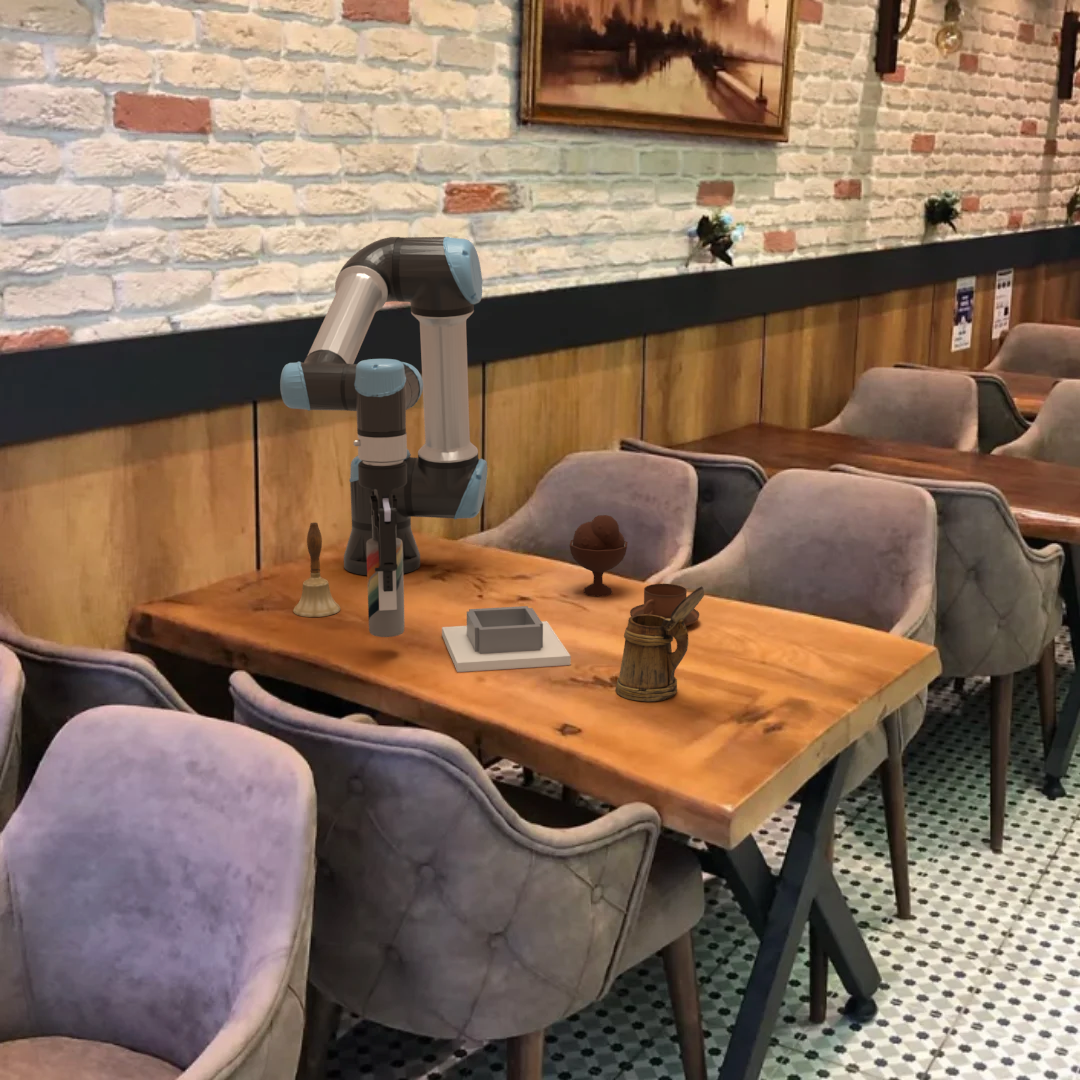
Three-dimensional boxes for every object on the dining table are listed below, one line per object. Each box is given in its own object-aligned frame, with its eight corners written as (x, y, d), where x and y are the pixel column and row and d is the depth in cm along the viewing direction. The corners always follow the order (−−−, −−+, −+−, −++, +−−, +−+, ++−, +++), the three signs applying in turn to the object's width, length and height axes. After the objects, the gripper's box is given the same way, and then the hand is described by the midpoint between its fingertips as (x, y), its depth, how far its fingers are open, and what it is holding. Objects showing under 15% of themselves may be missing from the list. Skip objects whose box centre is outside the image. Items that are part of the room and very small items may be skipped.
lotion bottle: (371, 625, 214) (368, 506, 209) (406, 626, 214) (404, 506, 208) (366, 637, 208) (362, 515, 203) (402, 638, 208) (399, 515, 203)
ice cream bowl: (627, 584, 251) (629, 508, 248) (625, 601, 241) (626, 522, 237) (571, 582, 252) (572, 506, 249) (567, 599, 242) (568, 520, 238)
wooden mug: (681, 714, 188) (686, 593, 184) (604, 693, 196) (606, 576, 192) (713, 696, 195) (718, 580, 190) (637, 676, 203) (640, 564, 198)
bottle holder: (441, 635, 221) (441, 604, 220) (546, 629, 225) (547, 598, 223) (457, 672, 204) (457, 638, 203) (570, 664, 208) (570, 631, 206)
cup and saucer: (689, 637, 222) (690, 602, 220) (621, 629, 226) (622, 595, 224) (706, 617, 233) (707, 584, 231) (640, 609, 237) (641, 577, 235)
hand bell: (286, 607, 236) (283, 521, 232) (330, 601, 240) (327, 516, 236) (302, 620, 229) (299, 531, 225) (347, 613, 233) (344, 525, 229)
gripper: (353, 449, 212) (358, 587, 218) (362, 474, 194) (367, 623, 200) (400, 448, 213) (403, 584, 219) (413, 472, 196) (416, 620, 202)
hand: (386, 602), depth 210 cm, fingers closed on lotion bottle, 6 cm apart
